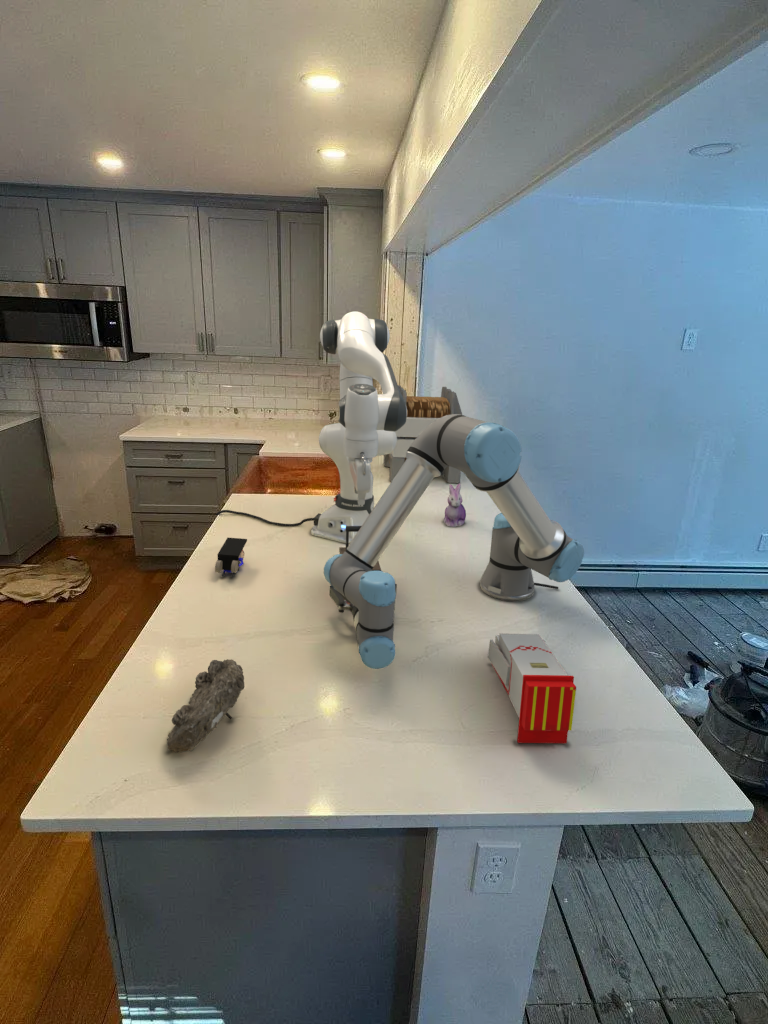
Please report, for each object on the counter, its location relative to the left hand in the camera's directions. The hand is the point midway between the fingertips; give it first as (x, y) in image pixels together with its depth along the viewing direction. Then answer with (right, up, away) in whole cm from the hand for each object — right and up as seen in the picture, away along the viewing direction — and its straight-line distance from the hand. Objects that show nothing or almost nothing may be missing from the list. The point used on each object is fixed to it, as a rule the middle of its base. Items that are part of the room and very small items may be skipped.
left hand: (359, 498), depth 153 cm
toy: (+36, -42, -35) cm, 65 cm away
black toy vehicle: (-38, -21, +14) cm, 46 cm away
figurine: (+33, -8, +59) cm, 68 cm away
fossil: (-26, -43, -45) cm, 67 cm away
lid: (0, -17, +1) cm, 17 cm away
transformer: (+24, +15, +122) cm, 125 cm away
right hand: (0, -21, -1) cm, 21 cm away
